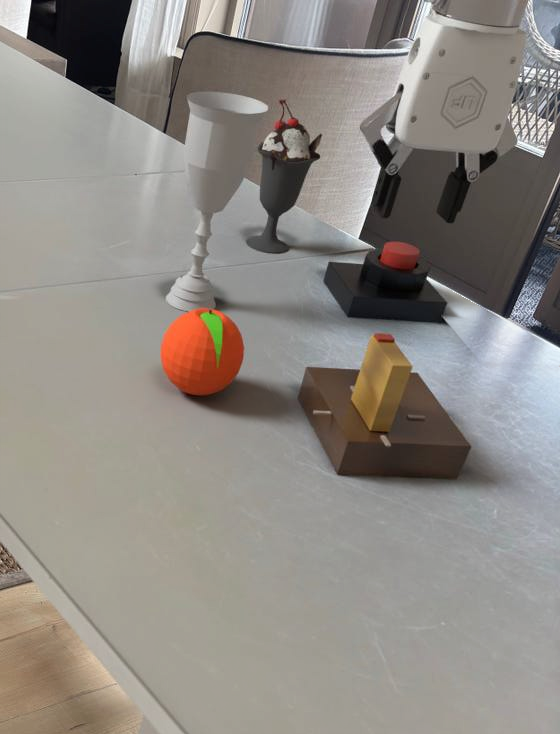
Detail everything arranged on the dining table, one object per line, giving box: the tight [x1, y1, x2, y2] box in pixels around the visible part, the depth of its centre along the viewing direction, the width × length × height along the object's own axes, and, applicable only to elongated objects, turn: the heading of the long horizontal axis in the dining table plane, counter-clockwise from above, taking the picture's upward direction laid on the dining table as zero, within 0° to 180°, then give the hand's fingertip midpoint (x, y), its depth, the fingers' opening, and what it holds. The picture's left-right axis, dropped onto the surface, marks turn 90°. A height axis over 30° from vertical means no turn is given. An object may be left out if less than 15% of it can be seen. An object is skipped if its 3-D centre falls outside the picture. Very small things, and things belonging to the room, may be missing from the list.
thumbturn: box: [351, 332, 413, 432], centre depth 75 cm, size 5×2×6 cm, turn 6°
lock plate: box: [297, 366, 472, 480], centre depth 79 cm, size 12×13×3 cm
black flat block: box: [322, 248, 448, 324], centre depth 101 cm, size 10×9×4 cm
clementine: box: [160, 308, 245, 396], centre depth 81 cm, size 8×7×7 cm
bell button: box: [380, 241, 421, 270], centre depth 100 cm, size 4×4×2 cm
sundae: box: [245, 99, 323, 254], centre depth 106 cm, size 7×7×15 cm
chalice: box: [165, 91, 269, 312], centre depth 91 cm, size 7×7×18 cm
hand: (413, 214), depth 97 cm, fingers open, 6 cm apart
